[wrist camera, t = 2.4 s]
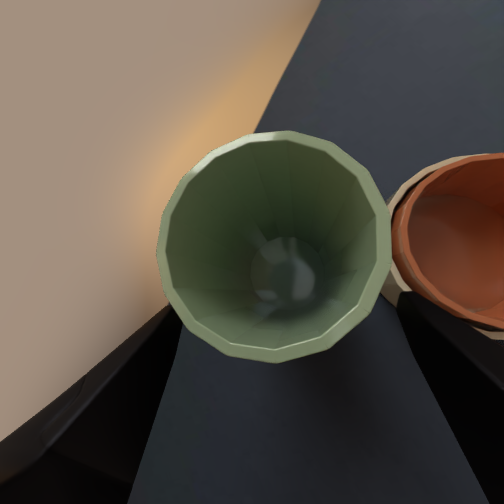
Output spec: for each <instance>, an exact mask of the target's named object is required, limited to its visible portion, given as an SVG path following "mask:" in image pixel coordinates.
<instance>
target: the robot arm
mask: <svg viewBox="0 0 504 504" xmlns="http://www.w3.org/2000/svg"><path fill="white" fill-rule="evenodd" d="M396 311H397V314H398V317H399V320H400V322H401V325H402V327H403V330H404V333H405V335H406V338H407V340H408V343H409V346H410V348H411V351H412V353H413V355H414V357H415V359H416V361H417V363H418V365H419V367H420V369H421V371H422V373H423V375H424V377H425V379H426V381H427V383H428V385H429V387H430V389H431V391H432V392H433V394H434V396H435V398H436V400H437V402H438V404H439V406H440V408H441V410H442V412H443V414H444V416H445V418H446V420H447V422H448V424H449V426H450V427H451V429H452V431H453V433H454V435H455V437H456V439H457V441H458V443H459V445H460V447H461V449H462V451H463V453H464V455H465V457H466V459H467V461H468V462H469V464H470V466H471V468H472V470H473V472H474V474H475V476H476V478H477V480H478V482H479V484H480V486H481V488H482V490H483V492H484V494H485V496H486V497H487V499H488V501H489V503H490V504H504V346H502V345H500V344H499V343H497V342H496V341H494V340H492V339H491V338H489V337H488V336H486V335H484V334H483V333H481V332H480V331H478V330H476V329H475V328H473V327H472V326H470V325H468V324H467V323H465V322H464V321H462V320H460V319H459V318H457V317H456V316H454V315H452V314H451V313H449V312H448V311H446V310H444V309H443V308H441V307H440V306H438V305H436V304H435V303H433V302H432V301H430V300H428V299H427V298H425V297H424V296H422V295H420V294H419V293H417V292H415V291H402V292H400V294H399V298H398V301H397V305H396ZM182 325H183V322H182V320H181V319H180V317H179V316H178V314H177V313H176V311H175V310H174V308H173V307H172V305H168V306H165V307H164V308H163V309H162V310H161V311H159V312H158V313H157V314H156V315H155V316H154V317H152V318H151V319H150V320H149V321H148V322H147V323H145V324H144V325H143V326H142V327H141V328H140V329H138V330H137V331H136V332H135V333H134V334H132V335H131V336H130V337H129V338H128V339H126V340H125V341H124V342H123V343H122V344H121V345H119V346H118V347H117V348H116V349H115V350H114V351H112V352H111V353H110V354H109V355H108V356H106V357H105V358H104V359H103V360H102V361H101V362H99V363H98V364H97V365H96V366H95V367H93V368H92V369H91V370H90V371H89V372H88V373H87V374H86V375H84V376H83V377H82V378H81V379H79V380H78V381H77V382H76V383H75V384H73V385H72V386H71V387H70V388H68V389H67V390H66V391H65V392H64V393H62V394H61V395H60V396H59V397H58V398H56V399H55V400H54V401H53V402H51V403H50V404H49V405H47V406H46V407H45V408H44V409H42V410H41V411H40V412H38V413H37V414H36V415H35V416H33V417H32V418H31V419H29V420H28V421H27V422H25V423H24V424H23V425H22V426H20V427H19V428H18V429H17V430H15V431H14V432H13V433H11V434H10V435H9V436H7V437H6V438H5V439H3V440H2V441H1V442H0V504H127V502H128V499H129V496H130V493H131V490H132V487H133V486H132V485H133V483H134V480H135V477H136V474H137V471H138V468H139V465H140V462H141V459H142V456H143V453H144V450H145V447H146V444H147V441H148V438H149V435H150V432H151V429H152V426H153V423H154V420H155V417H156V413H157V410H158V407H159V404H160V401H161V398H162V395H163V392H164V389H165V386H166V383H167V380H168V377H169V374H170V371H171V368H172V365H173V362H174V359H175V355H176V351H177V347H178V343H179V338H180V334H181V329H182Z"/></svg>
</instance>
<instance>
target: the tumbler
mask: <svg viewBox="0 0 504 504" xmlns="http://www.w3.org/2000/svg"><path fill="white" fill-rule="evenodd" d="M389 213H390V211H389V209H388V207H387V206H386V204H385V202H384V200H383V198H382V196H381V194H380V192H379V190H378V188H377V186H376V184H375V183H374V181H373V179H372V177H371V175H370V173H369V171H367V169H366V168H365V167H363V166H362V165H361V164H359V163H358V162H357V161H356V160H354V159H353V158H352V157H350V156H349V155H348V154H347V153H345V152H344V151H343V150H341V149H340V148H339V147H338V146H336V145H335V144H334V143H331V142H330V141H326V140H323V139H319V138H315V137H312V136H308V135H305V134H301V133H297V132H294V131H278V132H267V133H256V134H248V135H245V136H243V137H241V138H238V139H236V140H234V141H232V142H230V143H227V144H226V145H223V146H221V147H219V148H216V149H214V150H212V151H211V152H209V153H208V154H207V155H206V156H205V157H204V158H203V159H202V160H201V161H200V162H199V163H197V164H196V165H195V166H194V167H193V168H192V169H191V170H190V171H189V172H188V173H187V174H185V176H183V177H182V179H181V180H180V182H179V184H178V186H177V187H176V189H175V191H174V193H173V195H172V196H171V198H170V200H169V202H168V204H167V206H166V208H165V209H164V211H163V214H162V219H161V225H160V231H159V237H158V243H157V249H156V256H157V261H158V266H159V271H160V276H161V281H162V286H163V291H164V293H165V296H166V297H167V299H168V300H169V302H170V304H171V305H172V307H173V308H174V310H175V311H176V313H177V314H178V316H179V317H180V319H181V320H182V322H183V323H184V325H185V326H186V328H187V329H189V331H190V332H192V333H193V334H195V335H196V336H198V337H199V338H201V339H202V340H204V341H205V342H207V343H208V344H210V345H211V346H213V347H214V348H216V349H217V350H219V351H220V352H222V353H223V354H225V355H228V356H231V357H237V358H243V359H249V360H255V361H262V362H268V363H274V364H276V363H282V362H286V361H289V360H293V359H297V358H300V357H304V356H308V355H311V354H315V353H319V352H322V351H326V350H328V349H330V348H331V347H332V346H333V345H335V344H336V343H337V342H338V341H339V340H340V339H342V338H343V337H344V336H345V335H346V334H348V333H349V332H350V331H351V330H352V329H353V328H355V327H356V326H357V325H358V324H359V323H360V322H362V321H363V320H364V319H365V318H366V317H367V316H369V313H371V311H372V309H373V307H374V305H375V302H376V300H377V298H378V296H379V293H380V291H381V289H382V287H383V284H384V282H385V280H386V278H387V275H388V273H389V271H390V269H391V267H392V265H391V264H392V243H391V215H390V214H389Z"/></svg>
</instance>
